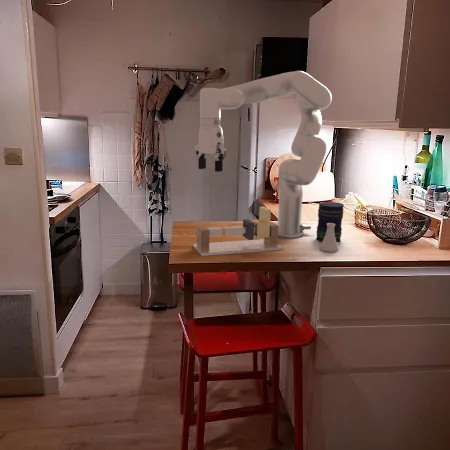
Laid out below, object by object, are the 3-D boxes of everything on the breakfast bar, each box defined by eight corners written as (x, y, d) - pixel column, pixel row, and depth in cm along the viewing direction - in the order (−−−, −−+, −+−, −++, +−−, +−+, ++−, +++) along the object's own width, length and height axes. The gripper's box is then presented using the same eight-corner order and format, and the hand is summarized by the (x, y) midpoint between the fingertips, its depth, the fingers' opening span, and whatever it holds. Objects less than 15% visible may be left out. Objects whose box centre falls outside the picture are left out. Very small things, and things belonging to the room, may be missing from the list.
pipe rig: (269, 241, 176) (270, 220, 174) (282, 249, 165) (283, 227, 163) (193, 246, 166) (193, 224, 164) (201, 256, 155) (202, 232, 153)
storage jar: (334, 236, 186) (337, 201, 182) (345, 242, 176) (348, 206, 173) (312, 237, 184) (314, 201, 180) (322, 243, 174) (324, 206, 171)
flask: (335, 253, 162) (337, 227, 160) (316, 250, 166) (318, 224, 163) (341, 249, 168) (343, 223, 166) (323, 245, 172) (324, 220, 169)
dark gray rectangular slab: (247, 235, 169) (247, 219, 168) (253, 239, 163) (254, 222, 162) (242, 235, 169) (243, 219, 167) (248, 240, 163) (249, 223, 161)
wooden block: (263, 233, 171) (264, 206, 169) (269, 237, 166) (270, 209, 163) (251, 234, 170) (252, 207, 167) (257, 238, 164) (258, 210, 161)
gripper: (233, 123, 158) (233, 171, 162) (203, 122, 170) (203, 167, 175) (217, 123, 153) (217, 173, 157) (187, 122, 166) (188, 168, 170)
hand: (210, 170), depth 166 cm, fingers open, 9 cm apart
